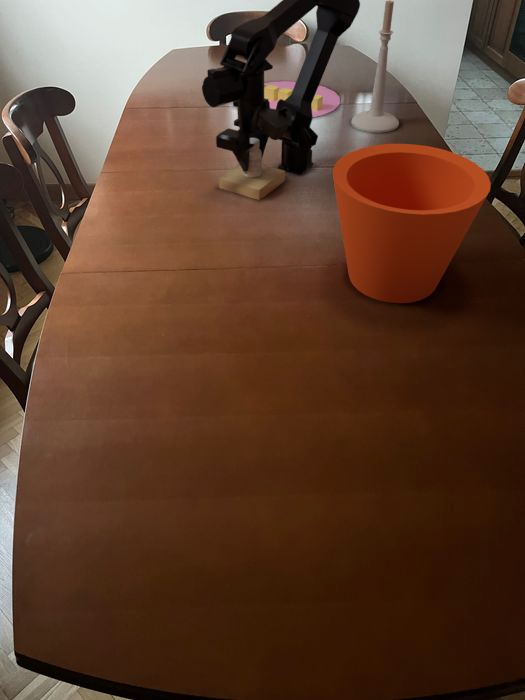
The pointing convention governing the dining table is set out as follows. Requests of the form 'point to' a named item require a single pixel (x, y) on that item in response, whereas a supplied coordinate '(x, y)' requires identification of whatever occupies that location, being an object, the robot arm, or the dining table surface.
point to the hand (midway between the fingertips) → (252, 166)
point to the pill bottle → (254, 160)
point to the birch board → (252, 182)
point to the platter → (321, 102)
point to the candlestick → (379, 87)
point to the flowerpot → (404, 216)
